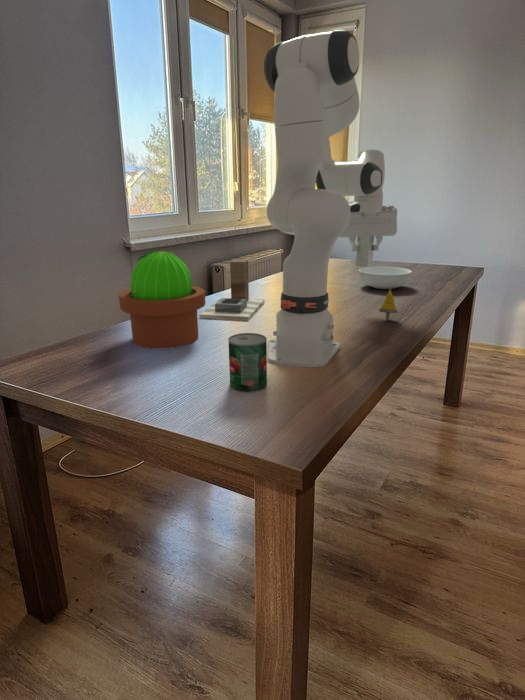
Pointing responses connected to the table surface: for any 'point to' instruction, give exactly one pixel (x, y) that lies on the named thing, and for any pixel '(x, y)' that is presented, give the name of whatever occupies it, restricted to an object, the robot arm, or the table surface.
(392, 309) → the yellow cone on disc
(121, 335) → the table surface
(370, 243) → the gray rectangular block
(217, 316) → the socket board with post
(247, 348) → the canned tomato
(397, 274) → the serving bowl
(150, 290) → the potted cactus
